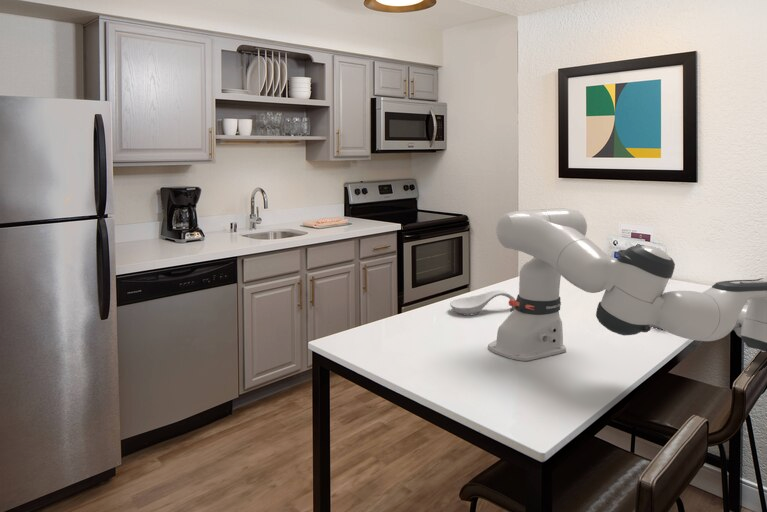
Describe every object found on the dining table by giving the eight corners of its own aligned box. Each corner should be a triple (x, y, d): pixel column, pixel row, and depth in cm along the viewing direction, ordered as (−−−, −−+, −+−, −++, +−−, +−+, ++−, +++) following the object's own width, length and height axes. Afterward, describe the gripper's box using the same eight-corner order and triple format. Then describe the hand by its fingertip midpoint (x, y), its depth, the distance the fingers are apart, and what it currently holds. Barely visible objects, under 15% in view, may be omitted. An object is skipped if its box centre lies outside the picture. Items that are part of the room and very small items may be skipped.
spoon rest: (455, 319, 184) (455, 298, 183) (446, 309, 196) (446, 289, 194) (522, 315, 188) (523, 294, 186) (509, 305, 199) (510, 286, 198)
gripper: (725, 341, 144) (677, 326, 157) (771, 328, 154) (721, 315, 166) (728, 318, 143) (679, 304, 155) (773, 306, 152) (724, 294, 164)
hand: (701, 310), depth 161 cm, fingers open, 8 cm apart
